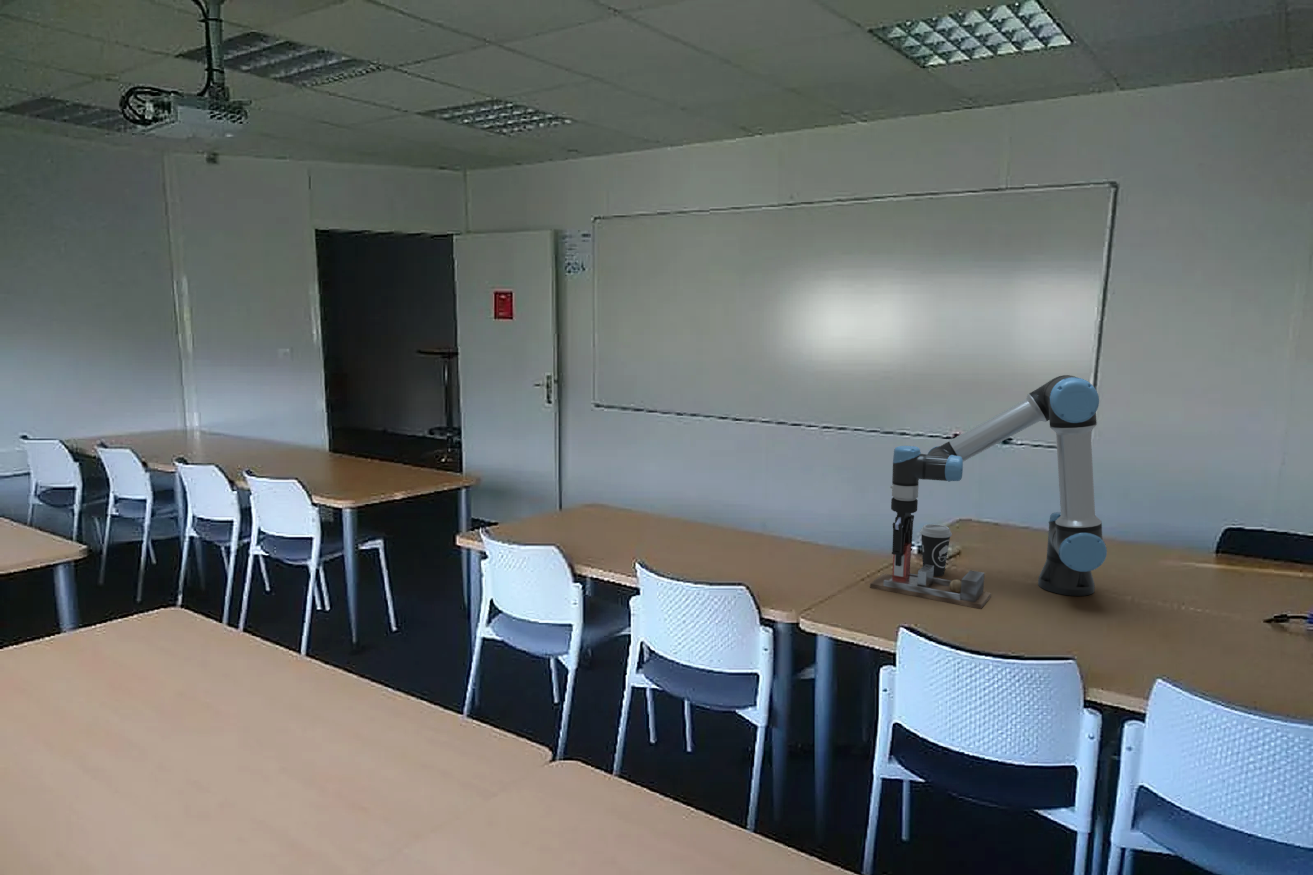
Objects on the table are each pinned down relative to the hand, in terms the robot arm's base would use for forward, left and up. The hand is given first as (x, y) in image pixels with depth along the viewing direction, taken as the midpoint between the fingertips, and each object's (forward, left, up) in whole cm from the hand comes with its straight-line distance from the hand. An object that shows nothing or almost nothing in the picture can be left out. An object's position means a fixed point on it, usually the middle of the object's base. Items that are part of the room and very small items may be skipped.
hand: (901, 573), depth 245 cm
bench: (-9, 0, -4) cm, 10 cm away
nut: (-16, 0, -1) cm, 16 cm away
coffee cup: (-5, -19, -4) cm, 20 cm away
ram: (-3, 0, -3) cm, 4 cm away
